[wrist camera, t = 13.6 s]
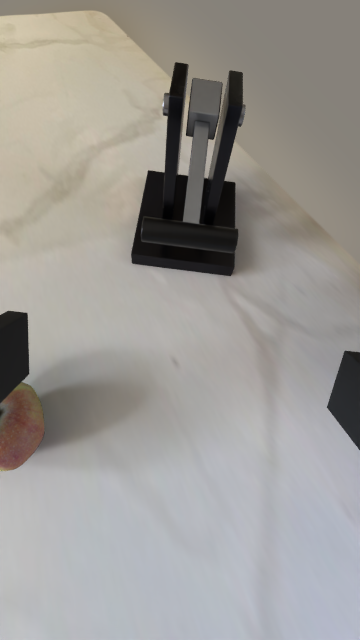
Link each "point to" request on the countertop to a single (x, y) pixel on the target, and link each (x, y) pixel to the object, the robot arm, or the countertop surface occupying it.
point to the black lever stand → (170, 188)
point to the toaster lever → (195, 181)
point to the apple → (20, 426)
